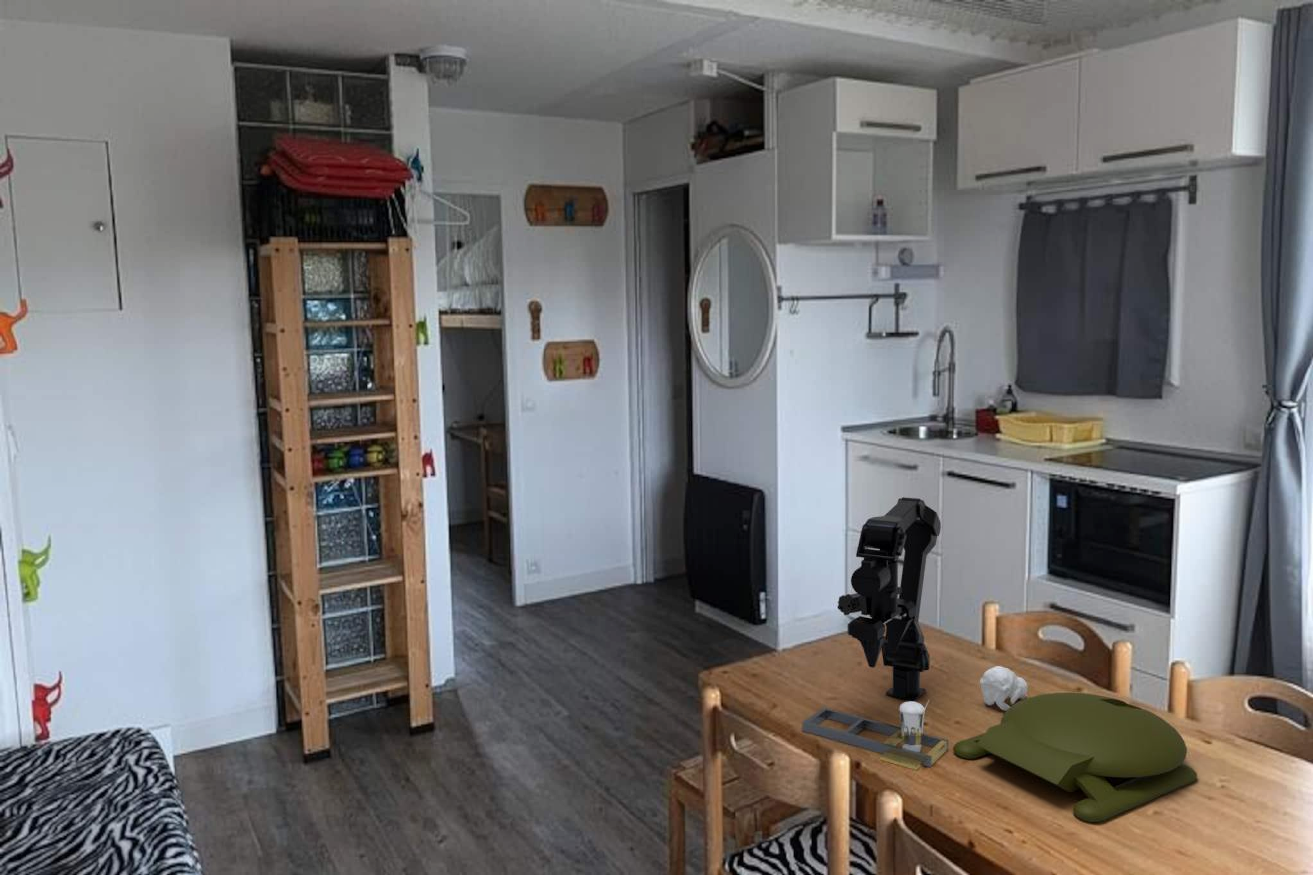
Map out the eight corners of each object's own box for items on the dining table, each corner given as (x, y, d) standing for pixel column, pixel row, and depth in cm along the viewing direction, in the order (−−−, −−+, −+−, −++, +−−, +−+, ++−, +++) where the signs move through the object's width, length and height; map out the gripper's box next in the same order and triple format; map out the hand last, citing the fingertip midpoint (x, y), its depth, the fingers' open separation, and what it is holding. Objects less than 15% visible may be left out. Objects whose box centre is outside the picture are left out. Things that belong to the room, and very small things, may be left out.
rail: (829, 711, 198) (829, 703, 198) (953, 744, 182) (953, 735, 182) (796, 735, 187) (796, 726, 187) (924, 772, 171) (924, 762, 171)
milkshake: (930, 756, 177) (930, 704, 176) (900, 754, 178) (900, 703, 177) (927, 745, 182) (928, 694, 180) (898, 743, 183) (898, 693, 181)
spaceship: (1093, 830, 152) (1095, 772, 151) (946, 754, 179) (947, 703, 178) (1223, 773, 169) (1226, 720, 168) (1072, 711, 196) (1073, 665, 195)
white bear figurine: (978, 665, 197) (1011, 656, 205) (975, 705, 198) (1008, 695, 205) (1006, 674, 192) (1038, 664, 200) (1002, 715, 193) (1035, 704, 200)
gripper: (866, 566, 200) (865, 638, 202) (822, 588, 186) (822, 665, 188) (917, 574, 193) (916, 649, 196) (876, 597, 179) (875, 678, 181)
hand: (882, 659), depth 190 cm, fingers open, 9 cm apart
